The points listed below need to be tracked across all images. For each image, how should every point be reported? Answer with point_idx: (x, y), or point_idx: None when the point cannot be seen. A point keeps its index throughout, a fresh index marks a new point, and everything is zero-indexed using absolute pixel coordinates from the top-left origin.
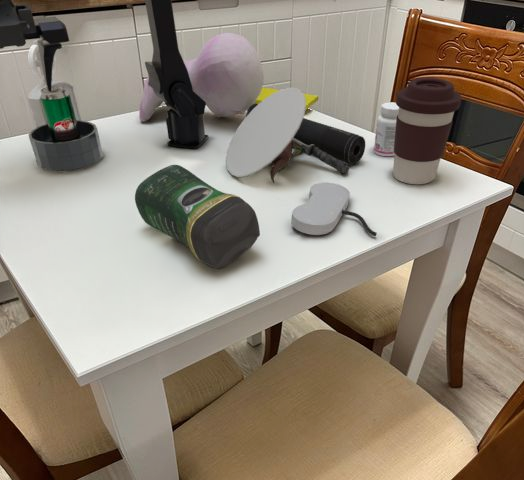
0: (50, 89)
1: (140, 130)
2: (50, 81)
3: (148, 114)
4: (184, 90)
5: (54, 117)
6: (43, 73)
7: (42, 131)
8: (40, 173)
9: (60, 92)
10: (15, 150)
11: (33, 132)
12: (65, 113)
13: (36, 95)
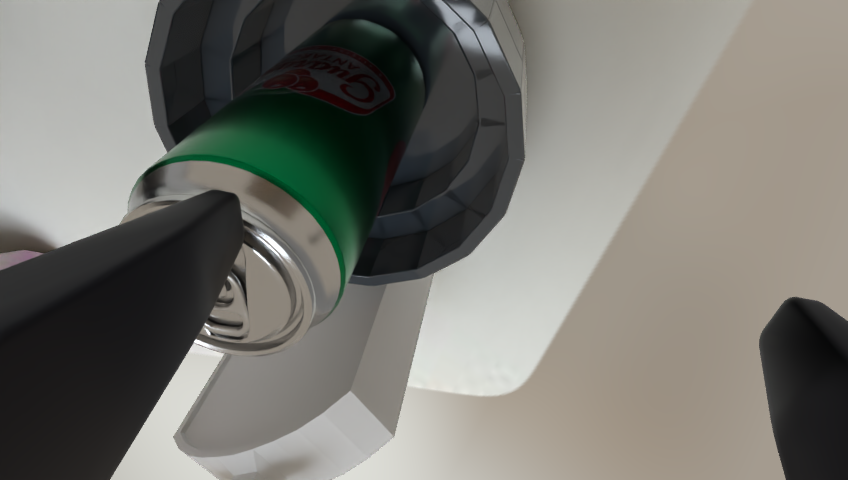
0: (208, 192)
1: (62, 199)
2: (138, 220)
3: (2, 254)
4: None
5: (330, 123)
6: (169, 369)
7: (418, 254)
8: (546, 28)
9: (160, 195)
10: (525, 315)
11: (469, 232)
12: (243, 106)
13: (349, 423)
